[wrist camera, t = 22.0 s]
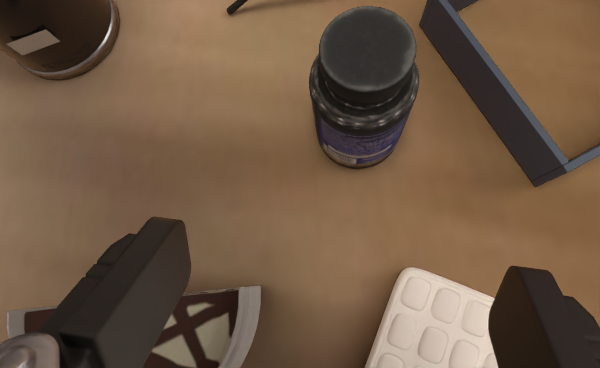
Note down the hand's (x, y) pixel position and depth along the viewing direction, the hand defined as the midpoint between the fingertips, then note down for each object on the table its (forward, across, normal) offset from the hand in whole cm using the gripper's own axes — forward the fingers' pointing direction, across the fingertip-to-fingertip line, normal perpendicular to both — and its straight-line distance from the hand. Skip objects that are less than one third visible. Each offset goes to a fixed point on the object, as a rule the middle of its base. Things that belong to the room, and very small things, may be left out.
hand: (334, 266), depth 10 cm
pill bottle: (+20, 0, +5) cm, 21 cm away
